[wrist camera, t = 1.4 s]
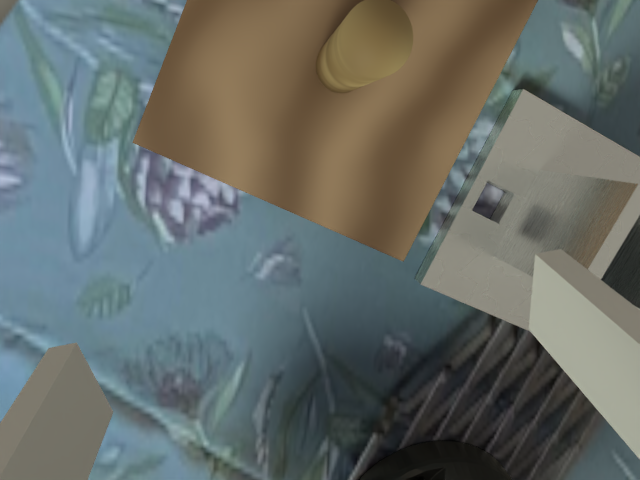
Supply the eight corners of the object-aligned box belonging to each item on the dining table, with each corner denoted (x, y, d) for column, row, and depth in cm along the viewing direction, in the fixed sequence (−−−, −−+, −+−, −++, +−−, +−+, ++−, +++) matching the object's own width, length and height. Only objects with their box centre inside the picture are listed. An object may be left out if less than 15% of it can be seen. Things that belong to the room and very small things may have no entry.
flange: (667, 179, 32) (819, 198, 23) (567, 344, 34) (672, 417, 25) (512, 90, 29) (622, 73, 20) (414, 278, 31) (474, 336, 22)
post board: (526, 0, 27) (660, -65, 18) (396, 255, 30) (456, 309, 21) (260, -171, 23) (261, -363, 14) (139, 141, 26) (76, 147, 17)
